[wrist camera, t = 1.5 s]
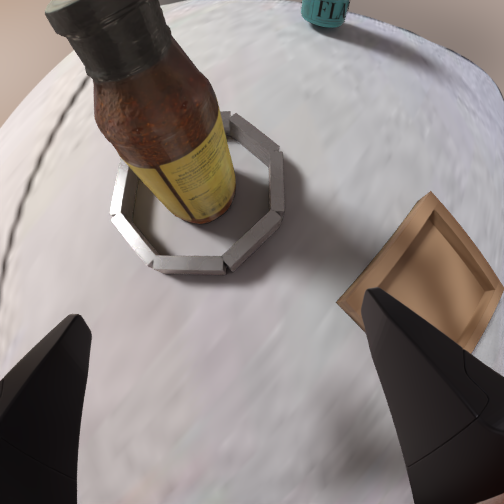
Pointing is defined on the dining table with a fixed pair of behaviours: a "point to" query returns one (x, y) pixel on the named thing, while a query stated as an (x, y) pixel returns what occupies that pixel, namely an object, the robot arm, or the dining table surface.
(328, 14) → the beverage bottle
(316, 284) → the dining table surface
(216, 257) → the metal collar
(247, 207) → the dining table surface
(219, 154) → the sauce bottle
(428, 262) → the walnut tray
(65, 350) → the robot arm
